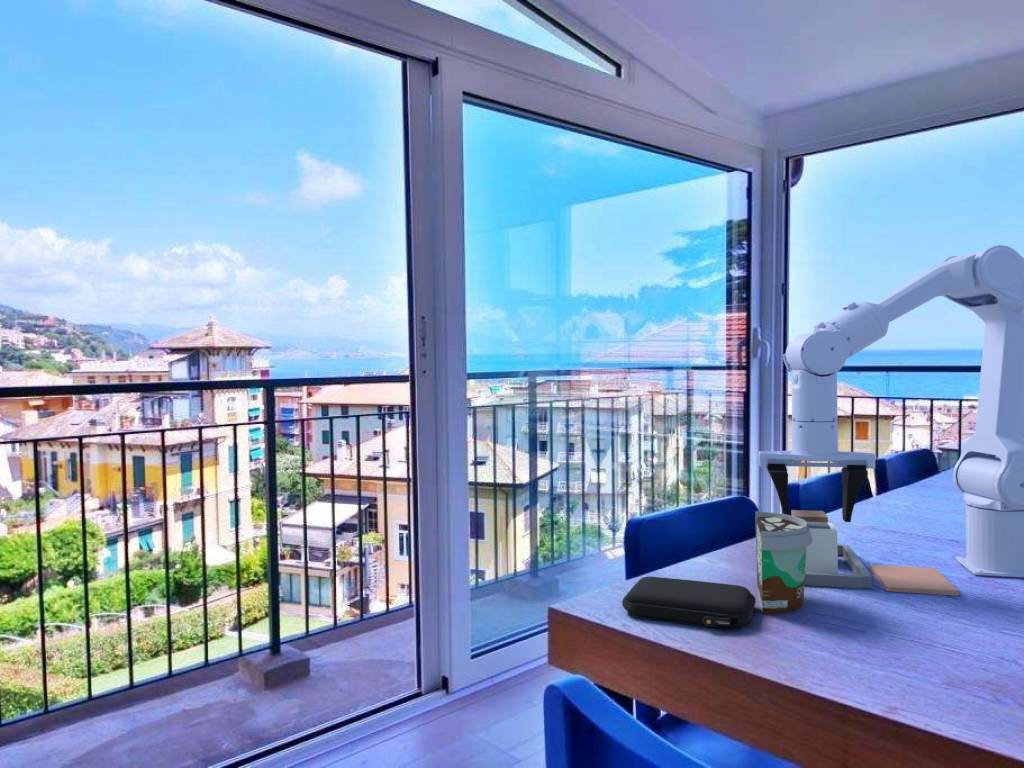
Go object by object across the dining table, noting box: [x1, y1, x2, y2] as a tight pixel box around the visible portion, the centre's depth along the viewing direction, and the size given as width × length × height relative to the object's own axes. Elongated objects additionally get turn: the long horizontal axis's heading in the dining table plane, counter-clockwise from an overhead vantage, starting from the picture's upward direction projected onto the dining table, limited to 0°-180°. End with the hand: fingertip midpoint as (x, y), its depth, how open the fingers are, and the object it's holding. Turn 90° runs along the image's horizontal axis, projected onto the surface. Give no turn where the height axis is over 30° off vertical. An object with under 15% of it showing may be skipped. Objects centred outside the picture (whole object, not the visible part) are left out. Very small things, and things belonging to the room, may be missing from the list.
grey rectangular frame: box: [804, 543, 873, 590], centre depth 98 cm, size 12×17×2 cm
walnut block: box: [791, 509, 829, 523], centre depth 102 cm, size 4×4×7 cm
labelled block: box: [805, 522, 839, 574], centre depth 94 cm, size 4×4×7 cm
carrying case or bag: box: [621, 576, 757, 630], centre depth 82 cm, size 11×3×15 cm
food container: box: [754, 511, 812, 615], centre depth 84 cm, size 12×6×10 cm, turn 164°
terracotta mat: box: [869, 564, 960, 597], centre depth 91 cm, size 8×10×1 cm
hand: (815, 519), depth 94 cm, fingers open, 7 cm apart
